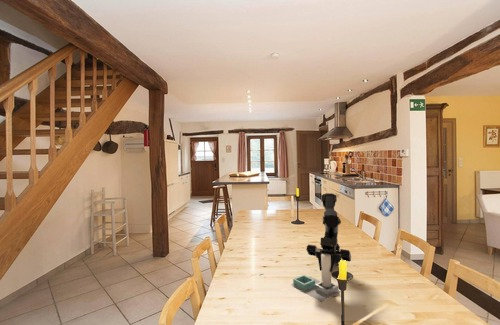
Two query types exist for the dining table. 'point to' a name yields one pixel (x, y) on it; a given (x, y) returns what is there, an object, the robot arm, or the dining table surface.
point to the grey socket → (324, 291)
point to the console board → (315, 293)
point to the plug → (326, 270)
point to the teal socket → (301, 285)
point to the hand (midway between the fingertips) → (325, 271)
